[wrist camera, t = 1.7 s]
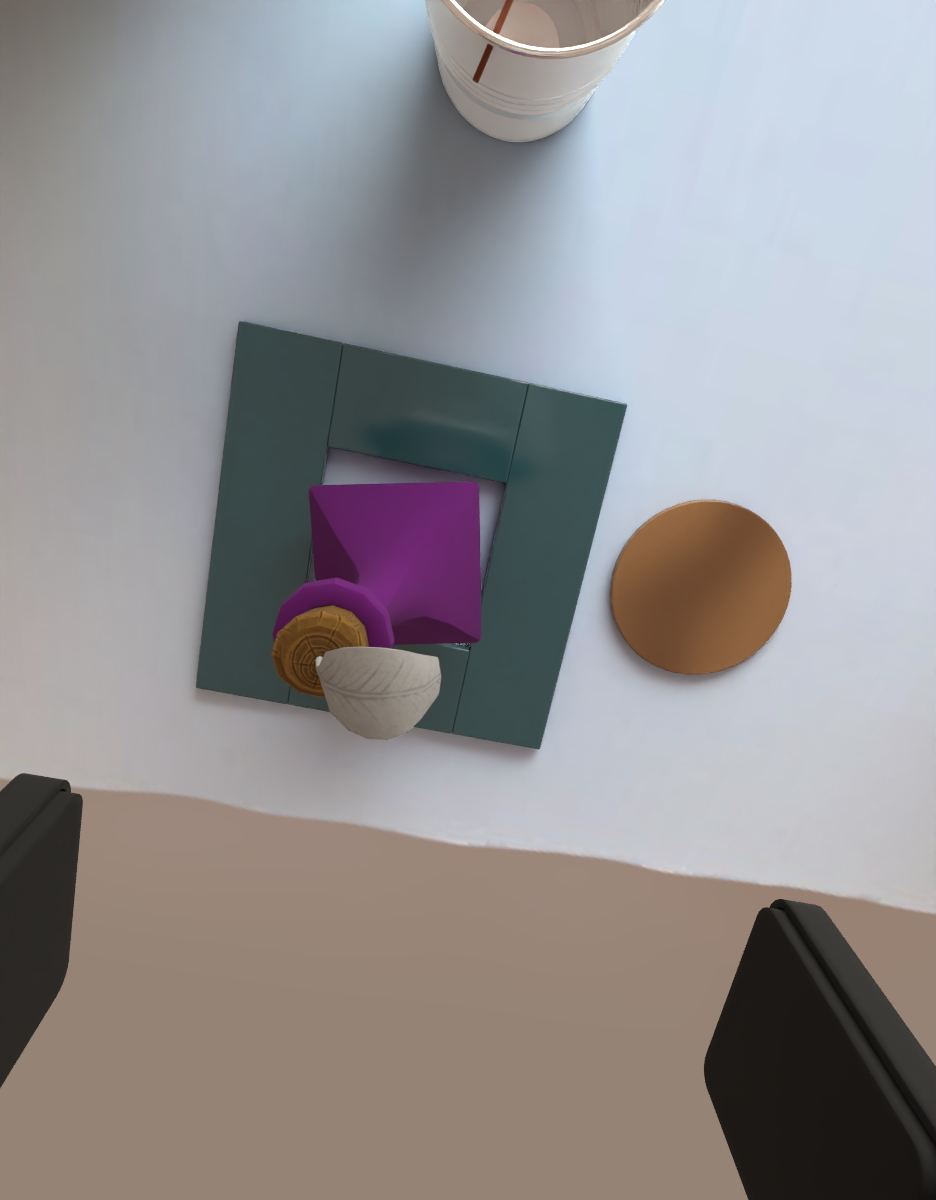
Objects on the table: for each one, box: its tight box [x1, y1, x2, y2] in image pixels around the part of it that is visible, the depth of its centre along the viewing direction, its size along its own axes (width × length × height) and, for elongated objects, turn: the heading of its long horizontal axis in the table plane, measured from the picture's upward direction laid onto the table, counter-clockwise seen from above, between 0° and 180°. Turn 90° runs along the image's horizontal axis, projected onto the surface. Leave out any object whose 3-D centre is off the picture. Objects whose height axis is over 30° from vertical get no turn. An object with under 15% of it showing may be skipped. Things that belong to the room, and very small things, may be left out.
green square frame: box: [196, 321, 627, 749], centre depth 39 cm, size 18×18×1 cm
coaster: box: [610, 500, 791, 674], centre depth 39 cm, size 9×9×1 cm
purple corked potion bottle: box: [271, 482, 482, 740], centre depth 30 cm, size 8×8×18 cm
